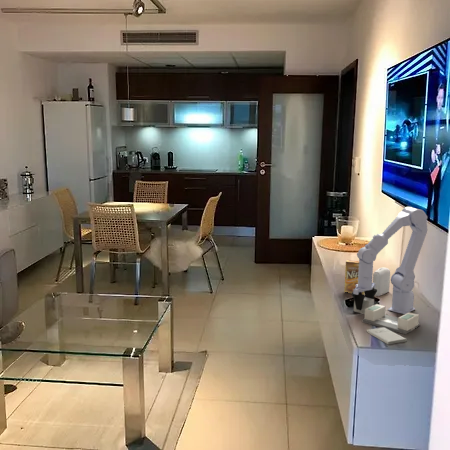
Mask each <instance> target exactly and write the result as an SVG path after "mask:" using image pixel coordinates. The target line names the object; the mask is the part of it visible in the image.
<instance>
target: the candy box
mask: <svg viewBox="0 0 450 450" xmlns="http://www.w3.org/2000/svg"><path fill="white" fill-rule="evenodd" d="M344 267H345V269H344V270H345V271H344V291H343V293H345V292H348V294H352V292H353V289H355V288H356V286H355V285H356V284H358V271H359V260H351V259H347V260H345V266H344ZM361 294H363V295H365V293H364V292H361Z"/></svg>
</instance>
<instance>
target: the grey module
mask: <svg viewBox="0 0 450 450" xmlns="http://www.w3.org/2000/svg"><path fill="white" fill-rule="evenodd" d="M373 305H375V299H374V298H373V299H371V298H367V297H365V298H364V300H363V305H362V310H358V309H356V305H355V301H354V300H353V311H354V312H355V313H360V314H363V315H365V309H366V308H369V307H371V306H373Z"/></svg>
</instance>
